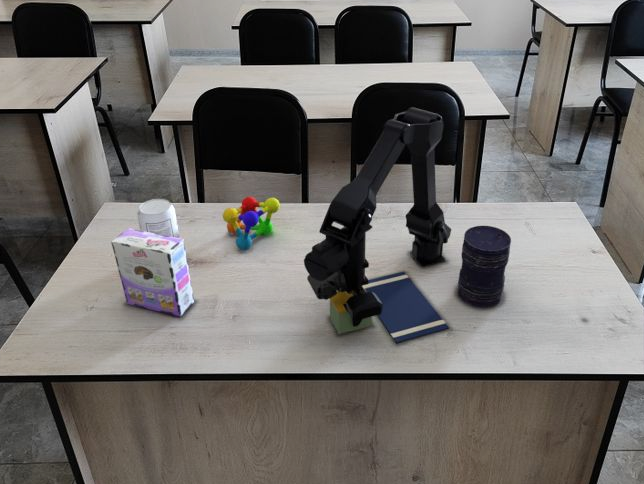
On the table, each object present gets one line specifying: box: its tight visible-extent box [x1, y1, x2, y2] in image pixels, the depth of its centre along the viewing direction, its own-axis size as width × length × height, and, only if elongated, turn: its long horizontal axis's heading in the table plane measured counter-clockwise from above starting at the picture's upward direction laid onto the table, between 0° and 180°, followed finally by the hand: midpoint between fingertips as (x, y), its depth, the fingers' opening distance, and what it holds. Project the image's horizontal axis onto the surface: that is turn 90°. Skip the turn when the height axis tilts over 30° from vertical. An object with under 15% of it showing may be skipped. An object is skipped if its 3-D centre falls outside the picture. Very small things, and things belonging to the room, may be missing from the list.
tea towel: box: [363, 271, 450, 344], centre depth 130 cm, size 12×21×1 cm, turn 22°
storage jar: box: [457, 225, 512, 309], centre depth 130 cm, size 10×10×15 cm
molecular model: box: [222, 196, 281, 251], centre depth 148 cm, size 15×12×15 cm
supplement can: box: [137, 198, 181, 239], centre depth 141 cm, size 8×8×15 cm
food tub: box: [329, 286, 373, 335], centre depth 124 cm, size 8×6×6 cm
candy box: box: [110, 228, 195, 317], centre depth 127 cm, size 14×6×16 cm, turn 71°
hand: (350, 317), depth 125 cm, fingers closed on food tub, 5 cm apart
